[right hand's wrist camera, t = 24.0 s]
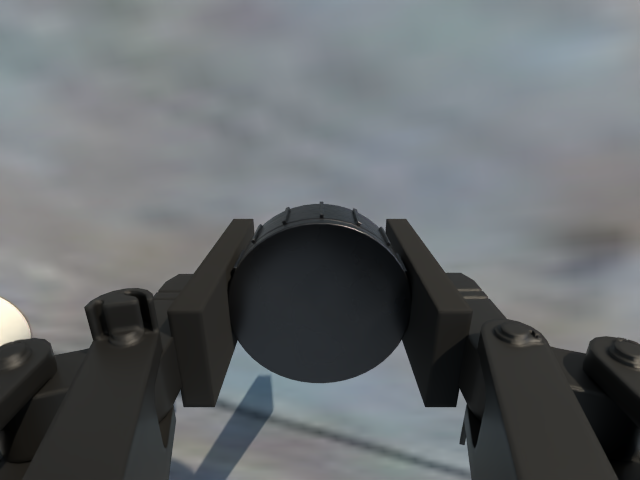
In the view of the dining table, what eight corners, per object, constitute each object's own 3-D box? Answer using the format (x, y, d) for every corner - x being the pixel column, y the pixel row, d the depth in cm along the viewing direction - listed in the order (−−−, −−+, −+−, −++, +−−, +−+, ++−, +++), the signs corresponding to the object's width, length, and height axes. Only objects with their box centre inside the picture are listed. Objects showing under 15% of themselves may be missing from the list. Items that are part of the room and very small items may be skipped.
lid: (406, 333, 13) (420, 371, 11) (260, 354, 13) (251, 395, 11) (390, 188, 11) (405, 205, 9) (220, 217, 11) (202, 239, 9)
